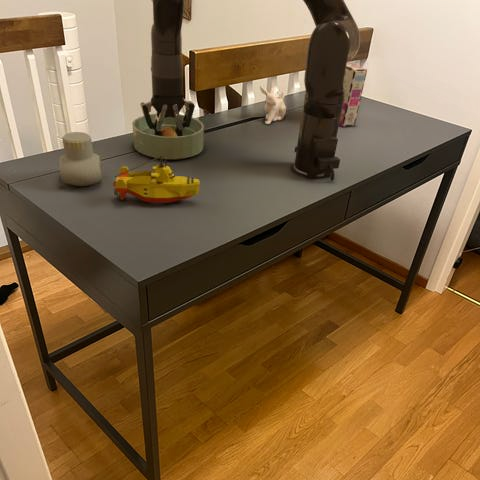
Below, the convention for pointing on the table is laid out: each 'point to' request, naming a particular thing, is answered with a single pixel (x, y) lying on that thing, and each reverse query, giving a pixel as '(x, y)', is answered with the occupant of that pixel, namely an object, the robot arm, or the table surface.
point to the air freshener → (79, 160)
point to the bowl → (168, 139)
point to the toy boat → (155, 184)
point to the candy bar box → (352, 93)
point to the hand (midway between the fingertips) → (168, 143)
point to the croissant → (168, 132)
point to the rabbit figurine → (274, 105)
